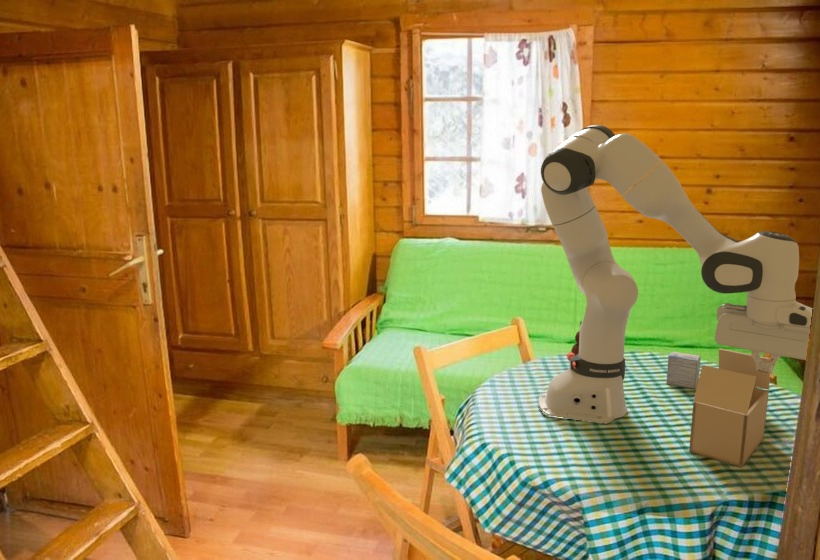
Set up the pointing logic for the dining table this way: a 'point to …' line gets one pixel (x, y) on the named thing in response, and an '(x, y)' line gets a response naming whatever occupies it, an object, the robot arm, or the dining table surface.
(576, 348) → the wooden figurine
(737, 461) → the carton
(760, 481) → the dining table surface
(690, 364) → the medicine box
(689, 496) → the dining table surface
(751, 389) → the front flap
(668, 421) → the dining table surface
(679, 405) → the dining table surface
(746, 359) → the back flap
